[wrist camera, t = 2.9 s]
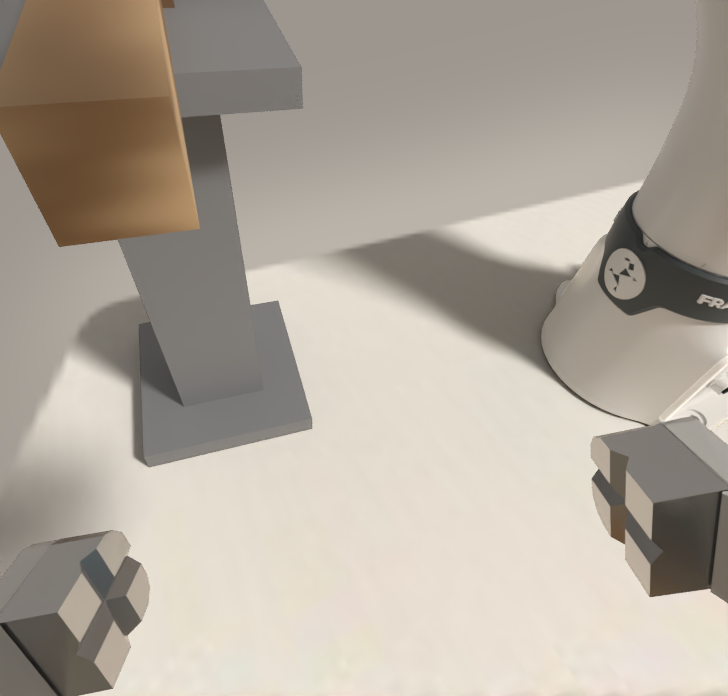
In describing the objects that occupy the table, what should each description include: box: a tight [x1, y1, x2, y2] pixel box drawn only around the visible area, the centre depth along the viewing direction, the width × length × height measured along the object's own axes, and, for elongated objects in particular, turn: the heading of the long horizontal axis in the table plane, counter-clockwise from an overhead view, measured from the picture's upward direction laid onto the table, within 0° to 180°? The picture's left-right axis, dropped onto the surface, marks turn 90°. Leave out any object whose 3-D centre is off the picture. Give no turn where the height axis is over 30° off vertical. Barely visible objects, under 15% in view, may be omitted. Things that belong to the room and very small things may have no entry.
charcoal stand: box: [0, 0, 312, 467], centre depth 30 cm, size 12×13×26 cm
